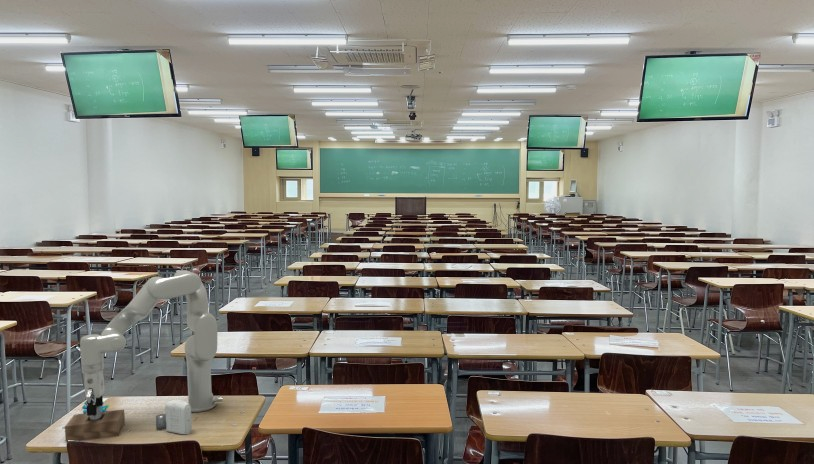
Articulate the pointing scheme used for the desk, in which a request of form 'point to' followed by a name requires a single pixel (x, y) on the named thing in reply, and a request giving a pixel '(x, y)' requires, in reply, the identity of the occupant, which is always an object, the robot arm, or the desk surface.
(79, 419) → the hole block
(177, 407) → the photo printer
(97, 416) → the long pin
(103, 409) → the gear
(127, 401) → the desk surface
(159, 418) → the short pin
